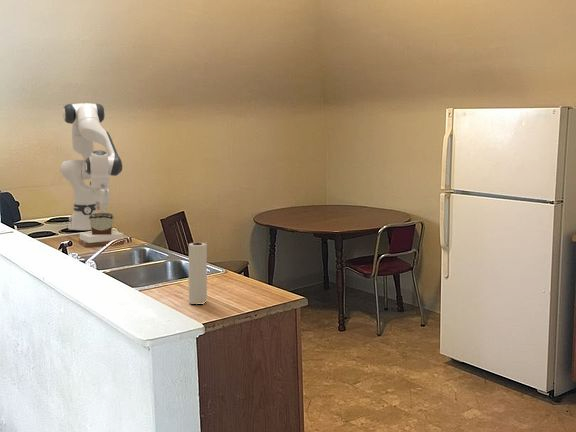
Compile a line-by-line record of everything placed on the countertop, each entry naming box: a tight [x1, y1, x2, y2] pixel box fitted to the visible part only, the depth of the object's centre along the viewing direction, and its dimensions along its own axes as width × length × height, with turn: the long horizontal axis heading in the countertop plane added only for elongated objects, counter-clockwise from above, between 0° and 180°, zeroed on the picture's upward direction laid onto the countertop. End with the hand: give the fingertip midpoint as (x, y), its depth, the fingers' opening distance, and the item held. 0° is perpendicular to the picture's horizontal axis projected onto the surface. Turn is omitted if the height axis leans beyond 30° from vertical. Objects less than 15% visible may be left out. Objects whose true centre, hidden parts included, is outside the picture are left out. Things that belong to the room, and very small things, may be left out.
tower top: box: [79, 229, 124, 243], centre depth 337 cm, size 12×18×3 cm, turn 128°
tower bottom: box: [78, 238, 125, 249], centre depth 337 cm, size 13×19×3 cm
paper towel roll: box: [188, 242, 208, 305], centre depth 233 cm, size 7×6×21 cm
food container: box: [89, 212, 115, 235], centre depth 335 cm, size 12×6×10 cm, turn 97°
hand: (101, 211), depth 335 cm, fingers open, 8 cm apart
